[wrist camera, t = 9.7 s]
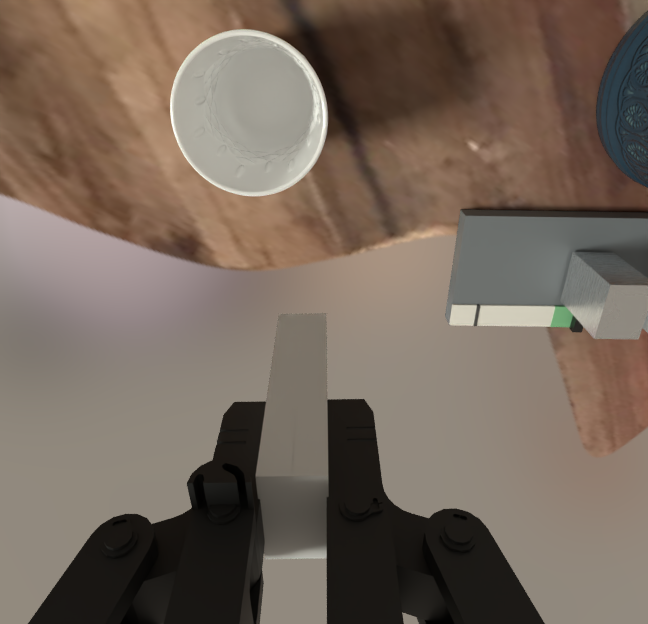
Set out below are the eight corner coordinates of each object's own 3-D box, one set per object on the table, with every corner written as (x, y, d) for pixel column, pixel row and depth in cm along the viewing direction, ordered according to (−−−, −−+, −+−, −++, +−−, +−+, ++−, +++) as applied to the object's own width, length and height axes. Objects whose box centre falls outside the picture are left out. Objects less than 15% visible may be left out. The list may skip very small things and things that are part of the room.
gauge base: (445, 316, 43) (471, 376, 35) (460, 209, 38) (493, 252, 31) (662, 319, 43) (734, 379, 35) (702, 213, 38) (793, 256, 31)
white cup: (351, 97, 35) (360, 119, 26) (271, 180, 37) (255, 225, 29) (263, 0, 32) (241, -13, 23) (184, 96, 35) (138, 118, 26)
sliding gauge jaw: (553, 326, 41) (585, 367, 36) (572, 251, 38) (610, 285, 33) (591, 326, 41) (628, 367, 36) (613, 252, 38) (657, 285, 33)
